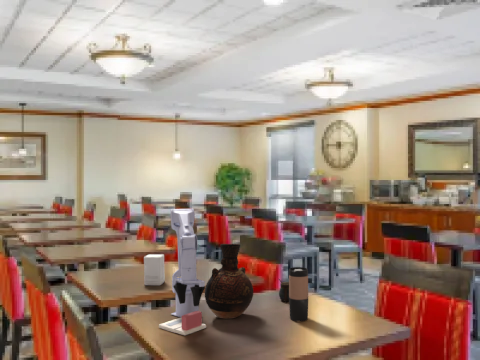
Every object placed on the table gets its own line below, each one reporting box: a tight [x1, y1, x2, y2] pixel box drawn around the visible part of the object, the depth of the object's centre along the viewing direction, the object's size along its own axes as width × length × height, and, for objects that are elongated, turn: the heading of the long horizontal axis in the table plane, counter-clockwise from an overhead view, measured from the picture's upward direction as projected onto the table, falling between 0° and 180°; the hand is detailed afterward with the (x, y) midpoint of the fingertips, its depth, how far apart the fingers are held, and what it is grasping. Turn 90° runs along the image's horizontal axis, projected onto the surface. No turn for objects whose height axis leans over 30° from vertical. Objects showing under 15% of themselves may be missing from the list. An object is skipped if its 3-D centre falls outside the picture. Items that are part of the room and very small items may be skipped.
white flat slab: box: [158, 317, 182, 333], centre depth 178 cm, size 11×9×1 cm
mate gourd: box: [278, 278, 289, 303], centre depth 214 cm, size 7×8×10 cm
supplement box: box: [143, 254, 166, 286], centre depth 249 cm, size 9×9×15 cm
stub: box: [175, 310, 207, 336], centre depth 174 cm, size 11×5×6 cm, turn 140°
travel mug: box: [288, 266, 309, 322], centre depth 187 cm, size 8×8×20 cm
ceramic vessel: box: [204, 243, 254, 320], centre depth 191 cm, size 21×18×30 cm
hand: (189, 304), depth 173 cm, fingers open, 7 cm apart
